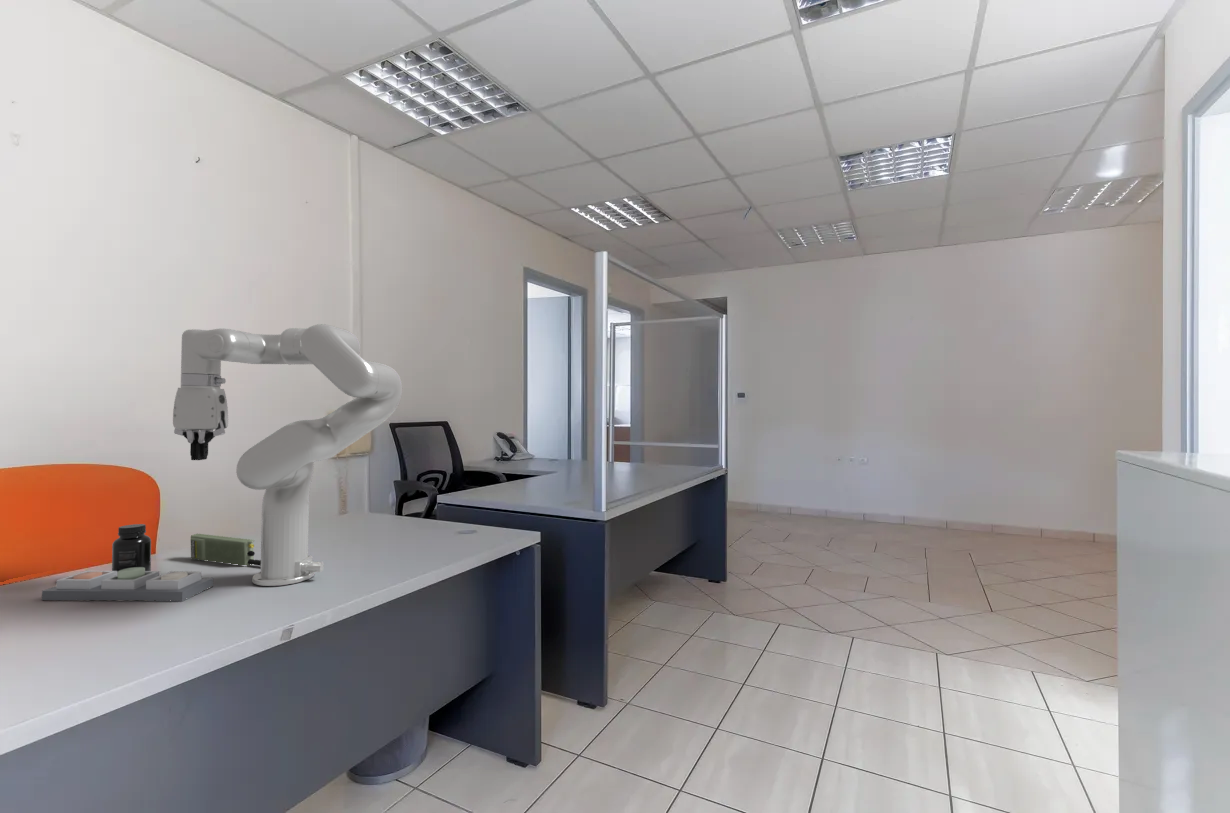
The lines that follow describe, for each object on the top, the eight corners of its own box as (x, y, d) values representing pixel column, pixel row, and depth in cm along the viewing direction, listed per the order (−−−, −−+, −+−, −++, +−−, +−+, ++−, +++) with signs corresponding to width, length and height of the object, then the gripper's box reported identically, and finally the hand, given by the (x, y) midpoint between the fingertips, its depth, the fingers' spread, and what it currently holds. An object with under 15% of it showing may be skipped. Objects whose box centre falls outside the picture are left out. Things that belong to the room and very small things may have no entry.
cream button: (192, 580, 119) (192, 572, 119) (177, 587, 115) (177, 578, 115) (171, 580, 119) (172, 571, 119) (155, 586, 115) (155, 578, 115)
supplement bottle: (158, 573, 130) (159, 523, 130) (130, 582, 123) (131, 529, 123) (132, 572, 131) (133, 522, 131) (103, 581, 124) (104, 528, 124)
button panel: (212, 586, 121) (213, 569, 121) (182, 601, 112) (182, 583, 112) (83, 586, 120) (83, 568, 120) (41, 600, 111) (42, 582, 111)
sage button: (150, 575, 119) (150, 567, 119) (133, 581, 114) (133, 573, 114) (129, 575, 119) (129, 567, 119) (111, 581, 114) (111, 573, 114)
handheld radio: (201, 557, 145) (273, 566, 138) (188, 561, 142) (261, 571, 135) (200, 532, 145) (272, 540, 138) (187, 535, 142) (260, 544, 134)
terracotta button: (107, 579, 118) (107, 571, 118) (88, 586, 114) (88, 577, 114) (86, 579, 118) (86, 571, 118) (67, 586, 114) (67, 577, 114)
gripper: (243, 383, 134) (241, 458, 134) (178, 382, 132) (177, 457, 132) (224, 382, 126) (222, 461, 126) (155, 380, 125) (153, 460, 125)
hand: (199, 459), depth 129 cm, fingers closed
